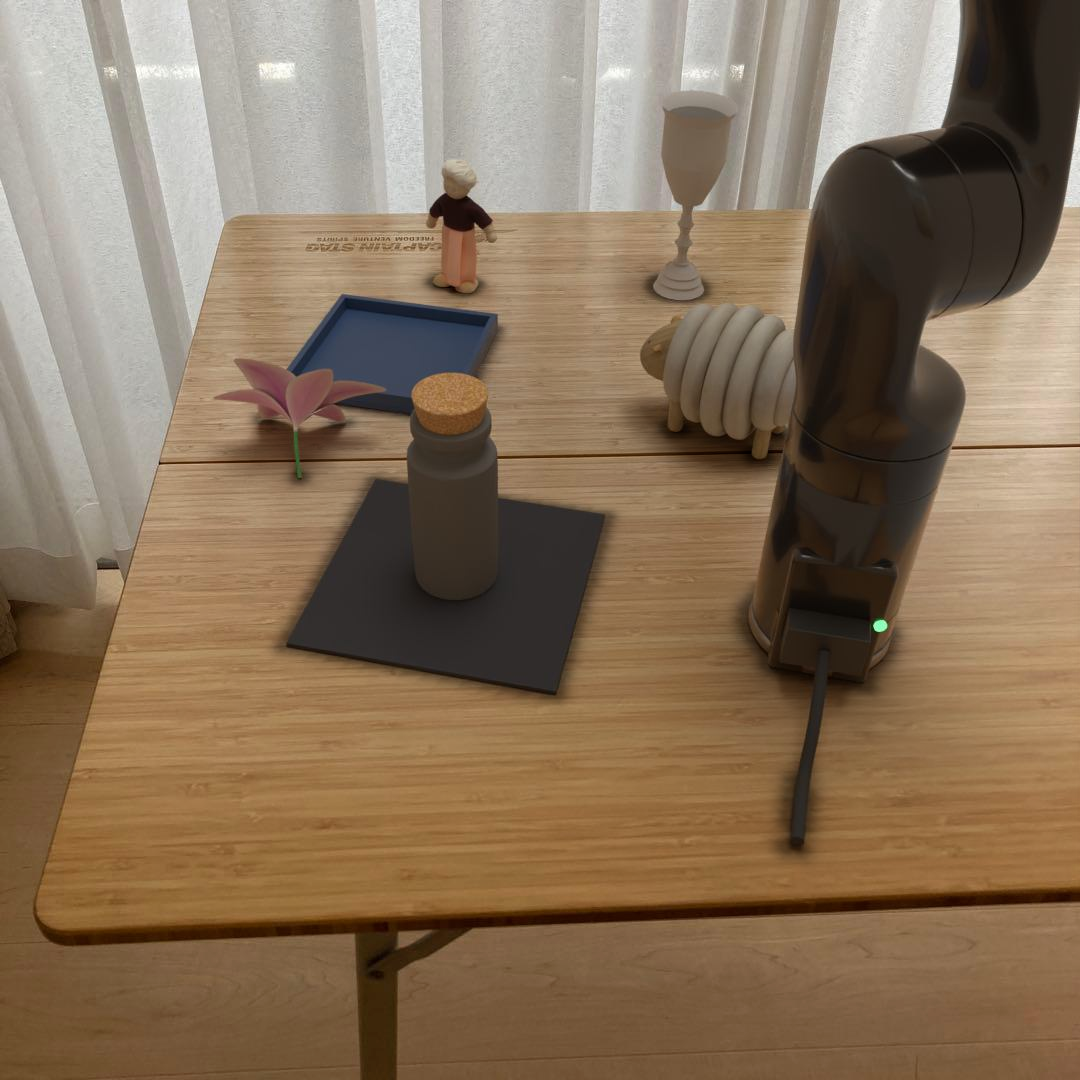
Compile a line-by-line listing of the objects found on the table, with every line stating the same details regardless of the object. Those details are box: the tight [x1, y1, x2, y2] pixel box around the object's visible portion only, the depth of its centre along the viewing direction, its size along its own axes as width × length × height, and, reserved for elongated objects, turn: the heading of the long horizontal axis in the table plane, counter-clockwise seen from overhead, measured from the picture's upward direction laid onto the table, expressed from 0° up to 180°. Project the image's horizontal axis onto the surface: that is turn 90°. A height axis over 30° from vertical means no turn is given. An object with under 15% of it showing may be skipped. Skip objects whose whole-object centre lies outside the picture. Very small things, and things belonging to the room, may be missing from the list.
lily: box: [212, 357, 387, 479], centre depth 86 cm, size 12×12×10 cm
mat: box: [285, 478, 606, 695], centre depth 78 cm, size 18×18×1 cm
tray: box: [285, 293, 499, 415], centre depth 99 cm, size 15×15×2 cm
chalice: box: [652, 90, 739, 301], centre depth 105 cm, size 7×7×18 cm
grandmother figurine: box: [425, 158, 498, 294], centre depth 106 cm, size 8×4×13 cm, turn 73°
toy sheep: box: [639, 302, 796, 460], centre depth 88 cm, size 11×17×11 cm, turn 65°
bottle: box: [406, 373, 499, 600], centre depth 73 cm, size 6×6×15 cm
